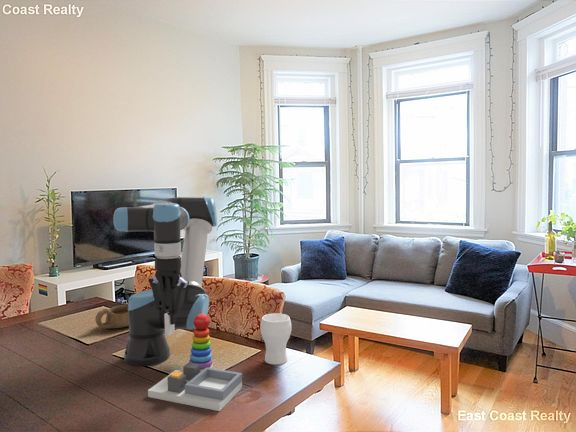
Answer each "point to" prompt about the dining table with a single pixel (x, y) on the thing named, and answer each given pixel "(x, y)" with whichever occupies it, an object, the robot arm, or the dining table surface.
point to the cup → (275, 336)
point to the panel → (214, 404)
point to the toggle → (191, 370)
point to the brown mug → (114, 317)
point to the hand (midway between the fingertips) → (169, 334)
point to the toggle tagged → (176, 382)
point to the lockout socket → (213, 393)
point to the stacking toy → (201, 343)
